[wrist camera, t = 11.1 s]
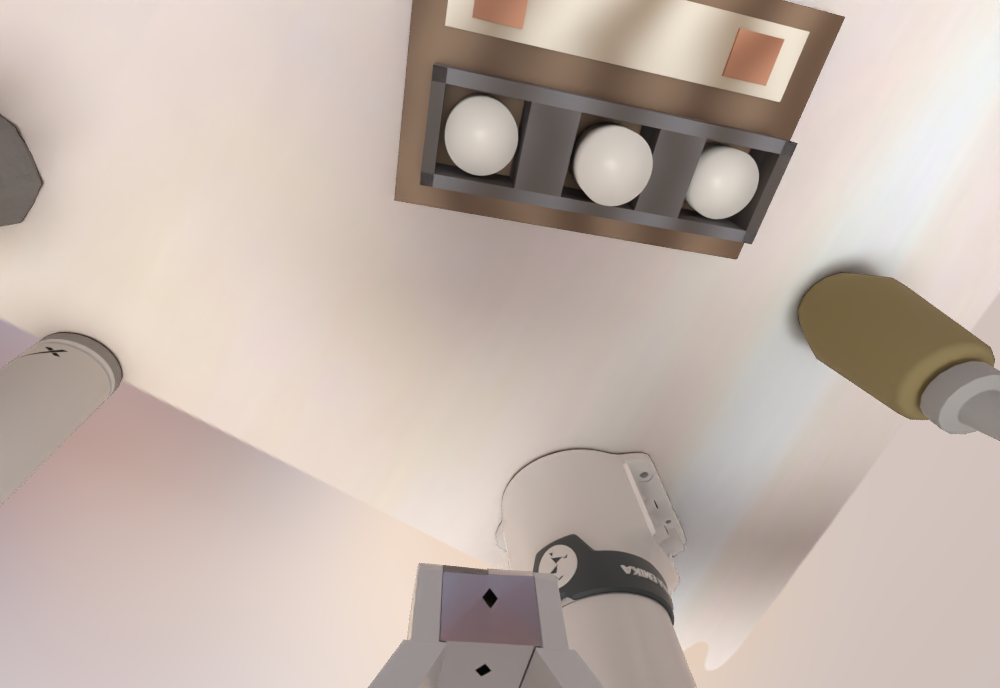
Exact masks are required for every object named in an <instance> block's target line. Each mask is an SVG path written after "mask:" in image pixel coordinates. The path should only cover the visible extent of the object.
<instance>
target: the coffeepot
mask: <svg viewBox="0 0 1000 688" xmlns="http://www.w3.org/2000/svg"><path fill="white" fill-rule="evenodd" d="M41 185H42V184H41V181H40V177H39V174H38V171H37V168H36V165H35V163H34V160H33V157H32V155H31V153H30V151H29V149H28V148H27V146H26V144H25V142H24V141H23V140H22V138H21V137H20V136H19V134H18V133H17V131H16V128H15V127H14V126H13V125H12V124H10V123H9V122H8V121H7V120H6V119H4V118H3V117H2V116H1V115H0V226H6V225H11V224H17V223H21V222H22V220H23V219H24V217H25V215H26V214H27V212H28V210H29V209H30V208H31V206H32V205H33V204H34V202H35V199H36V197H37V194H38V190H39V188H40V186H41Z"/></svg>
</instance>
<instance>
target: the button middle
mask: <svg viewBox="0 0 1000 688" xmlns="http://www.w3.org/2000/svg"><path fill="white" fill-rule="evenodd" d="M652 167H653V159H652V153H651V150H650V147H649V145H648V144H647V142H646V141H645V140H644V139H643V138H642V137H641V136H640V135H639V134H637V133H635V132H633V131H631V130H629V129H627V128H625V127H623V126H621V125H619V124H616V123H612V122H603V123H598V124H595V125H593V126H591V127H589V128H588V129H586V130H585V131H584V132H583V133H582V134H581V135H580V136H579V137H578V138H577V140H576V141H575V143H574V145H573V149H572V153H571V157H570V170H571V174H572V176H573V178H574V180H575V181H576V183H577V184H578V185H579V186H580V188H581V189H582V190H583V191H584V192H585V194H586V195H587V196H588V197H589V198H590V199H591V200H593V201H594V202H596V203H598V204H601V205H604V206H618V205H622V204H625V203H627V202H629V201H631V200H633V199H634V198H635V197H637V196H638V195H639V194H640V193H641V192H642V190H643V189H644V188H645V186H646V185H647V183H648V181H649V179H650V176H651V172H652Z"/></svg>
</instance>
